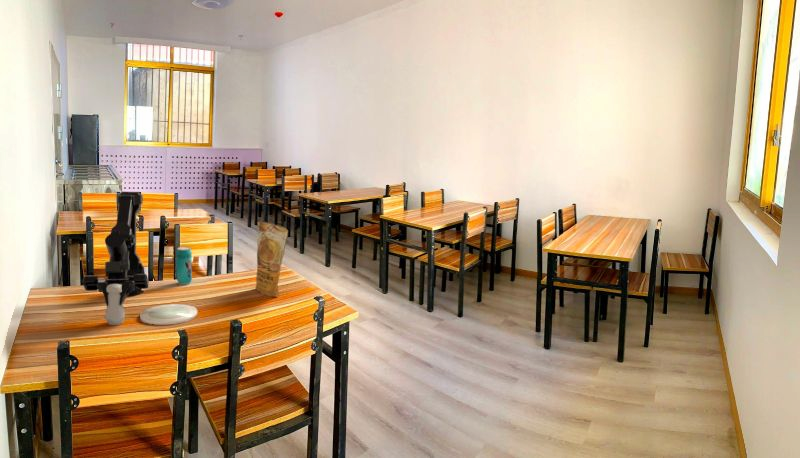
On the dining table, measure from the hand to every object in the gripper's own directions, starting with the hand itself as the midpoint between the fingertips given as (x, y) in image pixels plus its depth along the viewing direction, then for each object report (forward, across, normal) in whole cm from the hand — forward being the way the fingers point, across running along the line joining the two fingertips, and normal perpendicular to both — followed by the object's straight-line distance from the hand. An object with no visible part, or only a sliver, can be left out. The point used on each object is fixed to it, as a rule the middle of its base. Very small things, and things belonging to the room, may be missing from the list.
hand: (113, 305), depth 169 cm
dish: (0, +16, +9) cm, 18 cm away
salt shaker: (+4, 0, +6) cm, 7 cm away
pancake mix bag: (-15, +51, +25) cm, 59 cm away
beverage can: (-28, +18, +38) cm, 50 cm away
